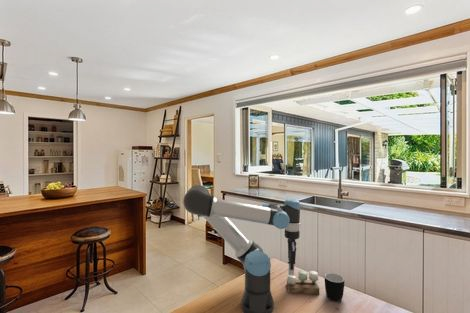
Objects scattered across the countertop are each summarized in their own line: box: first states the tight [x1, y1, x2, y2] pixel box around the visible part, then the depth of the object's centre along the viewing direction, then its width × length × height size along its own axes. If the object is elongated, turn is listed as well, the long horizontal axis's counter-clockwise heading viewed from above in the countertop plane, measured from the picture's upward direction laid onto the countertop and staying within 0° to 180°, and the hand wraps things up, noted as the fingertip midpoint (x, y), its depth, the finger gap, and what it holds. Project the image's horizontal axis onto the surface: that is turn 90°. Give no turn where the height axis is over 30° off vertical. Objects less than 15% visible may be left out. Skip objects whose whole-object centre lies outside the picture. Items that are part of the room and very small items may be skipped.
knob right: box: [308, 270, 319, 284], centre depth 128 cm, size 4×4×5 cm
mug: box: [324, 272, 345, 302], centre depth 123 cm, size 12×9×10 cm
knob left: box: [286, 274, 297, 285], centre depth 129 cm, size 4×4×5 cm
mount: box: [286, 278, 320, 295], centre depth 129 cm, size 15×8×3 cm, turn 86°
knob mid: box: [297, 270, 308, 284], centre depth 129 cm, size 4×4×5 cm
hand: (291, 274), depth 129 cm, fingers closed
